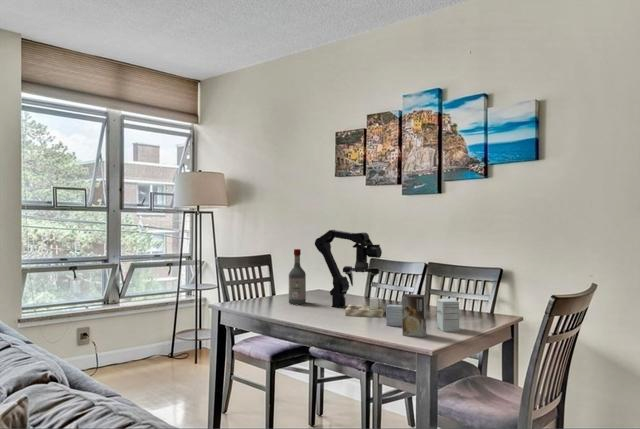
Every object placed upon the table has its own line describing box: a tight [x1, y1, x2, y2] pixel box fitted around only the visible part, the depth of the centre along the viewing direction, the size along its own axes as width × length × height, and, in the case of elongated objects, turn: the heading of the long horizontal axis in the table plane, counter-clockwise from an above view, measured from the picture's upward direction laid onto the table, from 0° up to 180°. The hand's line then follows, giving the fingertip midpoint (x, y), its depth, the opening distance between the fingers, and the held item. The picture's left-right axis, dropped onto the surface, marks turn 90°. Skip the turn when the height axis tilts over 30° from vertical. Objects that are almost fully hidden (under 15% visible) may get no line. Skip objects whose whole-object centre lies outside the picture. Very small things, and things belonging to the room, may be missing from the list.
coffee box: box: [401, 293, 428, 338], centre depth 195 cm, size 9×6×16 cm
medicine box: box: [385, 304, 402, 327], centre depth 212 cm, size 8×4×9 cm, turn 71°
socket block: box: [344, 304, 385, 318], centre depth 238 cm, size 18×13×3 cm
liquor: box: [288, 248, 307, 305], centre depth 267 cm, size 9×9×30 cm
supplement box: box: [436, 298, 460, 333], centre depth 204 cm, size 7×7×13 cm
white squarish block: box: [369, 296, 379, 309], centre depth 237 cm, size 4×4×8 cm
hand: (361, 286), depth 250 cm, fingers open, 9 cm apart
